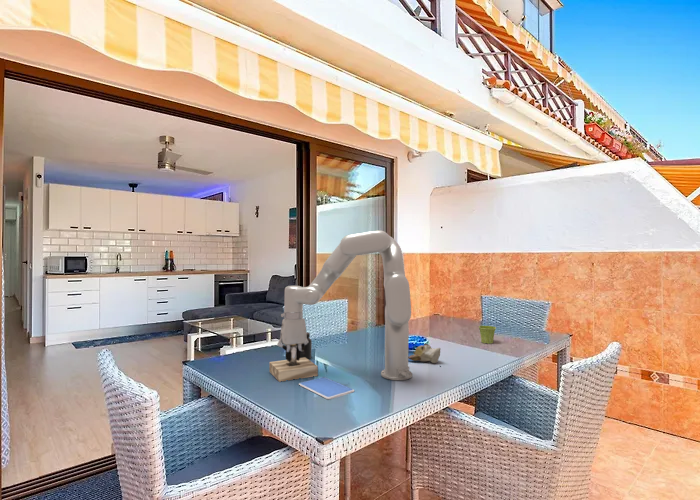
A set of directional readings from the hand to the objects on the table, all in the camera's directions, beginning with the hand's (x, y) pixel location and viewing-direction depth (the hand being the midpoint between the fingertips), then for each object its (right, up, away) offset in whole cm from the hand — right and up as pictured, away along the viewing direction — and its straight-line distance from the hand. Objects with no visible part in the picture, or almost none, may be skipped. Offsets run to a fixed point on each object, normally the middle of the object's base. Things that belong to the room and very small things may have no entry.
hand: (293, 359), depth 159 cm
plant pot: (+100, -7, +56) cm, 115 cm away
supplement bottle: (+2, -6, +22) cm, 23 cm away
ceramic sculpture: (+58, -7, +19) cm, 62 cm away
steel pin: (0, -3, 0) cm, 3 cm away
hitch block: (0, -6, 0) cm, 6 cm away
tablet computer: (+15, -7, -16) cm, 23 cm away
